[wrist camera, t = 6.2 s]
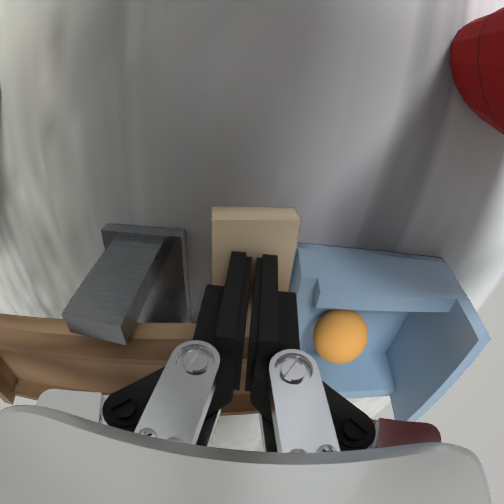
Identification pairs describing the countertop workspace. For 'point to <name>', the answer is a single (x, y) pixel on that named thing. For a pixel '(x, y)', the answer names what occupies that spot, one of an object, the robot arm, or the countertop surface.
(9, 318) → the lever
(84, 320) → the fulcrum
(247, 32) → the countertop surface
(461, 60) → the plastic cup
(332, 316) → the ball
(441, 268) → the blue tray
